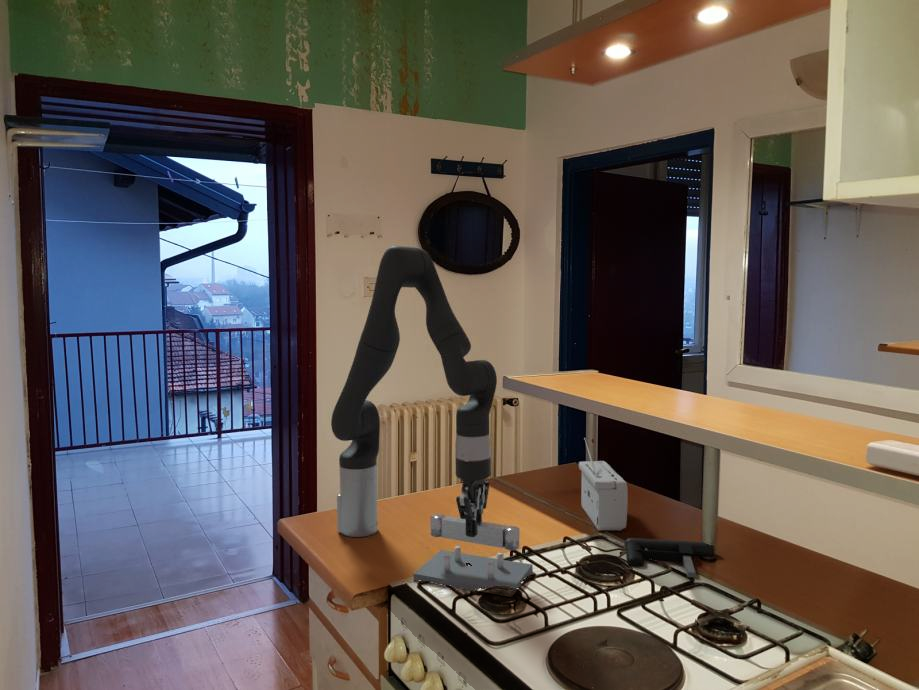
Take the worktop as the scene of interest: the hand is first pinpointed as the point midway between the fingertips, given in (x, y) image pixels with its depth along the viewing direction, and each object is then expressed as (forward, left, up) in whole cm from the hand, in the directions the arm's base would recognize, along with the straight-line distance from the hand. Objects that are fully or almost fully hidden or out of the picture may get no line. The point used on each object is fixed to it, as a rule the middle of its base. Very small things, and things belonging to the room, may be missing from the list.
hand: (473, 533), depth 150 cm
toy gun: (+38, +24, -10) cm, 46 cm away
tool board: (0, 0, -9) cm, 9 cm away
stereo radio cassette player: (+18, +46, -10) cm, 50 cm away
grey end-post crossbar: (0, 0, -2) cm, 2 cm away
